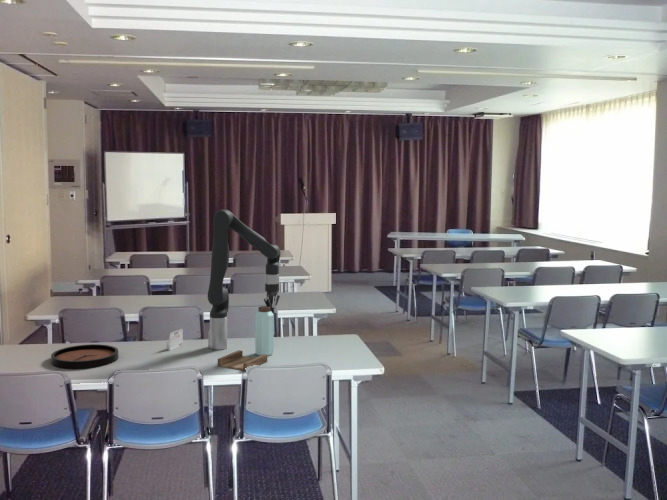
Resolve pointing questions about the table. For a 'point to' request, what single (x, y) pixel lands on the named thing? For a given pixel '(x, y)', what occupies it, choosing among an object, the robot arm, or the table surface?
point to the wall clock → (84, 356)
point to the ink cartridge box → (175, 340)
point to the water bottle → (264, 331)
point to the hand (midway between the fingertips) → (271, 314)
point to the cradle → (240, 360)
